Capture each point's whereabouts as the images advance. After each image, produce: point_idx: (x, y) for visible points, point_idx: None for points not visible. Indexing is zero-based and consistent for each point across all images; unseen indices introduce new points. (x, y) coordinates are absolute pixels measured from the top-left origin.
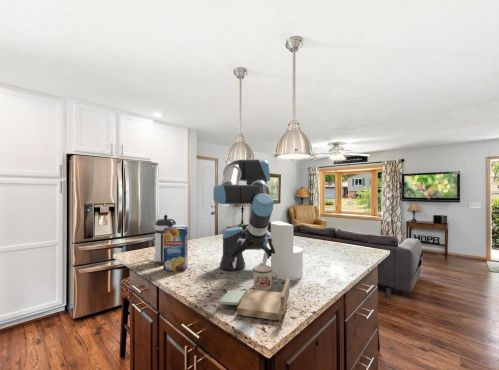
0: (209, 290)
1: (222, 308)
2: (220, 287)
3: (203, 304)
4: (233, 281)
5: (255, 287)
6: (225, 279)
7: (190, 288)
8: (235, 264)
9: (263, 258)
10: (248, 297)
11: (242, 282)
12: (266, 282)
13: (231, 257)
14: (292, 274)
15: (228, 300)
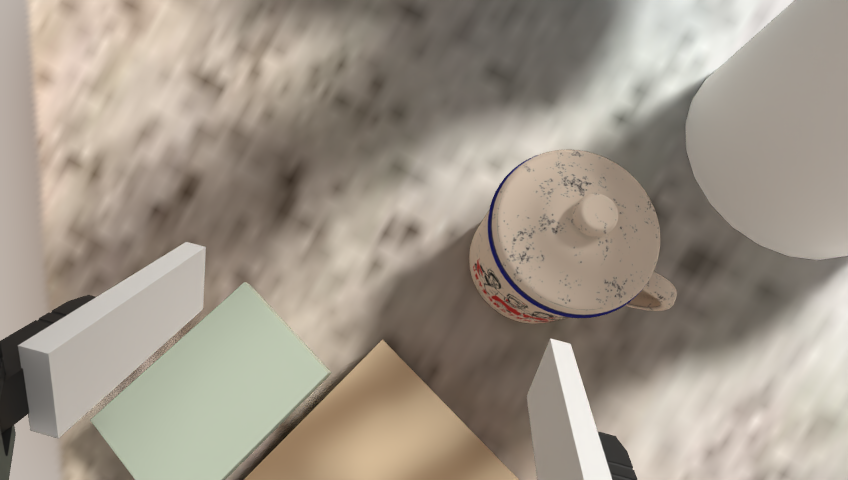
0: (207, 139)
1: None
2: (289, 131)
3: None
4: (408, 87)
5: (471, 269)
6: (378, 35)
7: (123, 57)
8: (157, 343)
9: (552, 386)
10: (296, 470)
11: (452, 128)
12: (541, 319)
13: (26, 338)
14: (815, 244)
15: (144, 451)
